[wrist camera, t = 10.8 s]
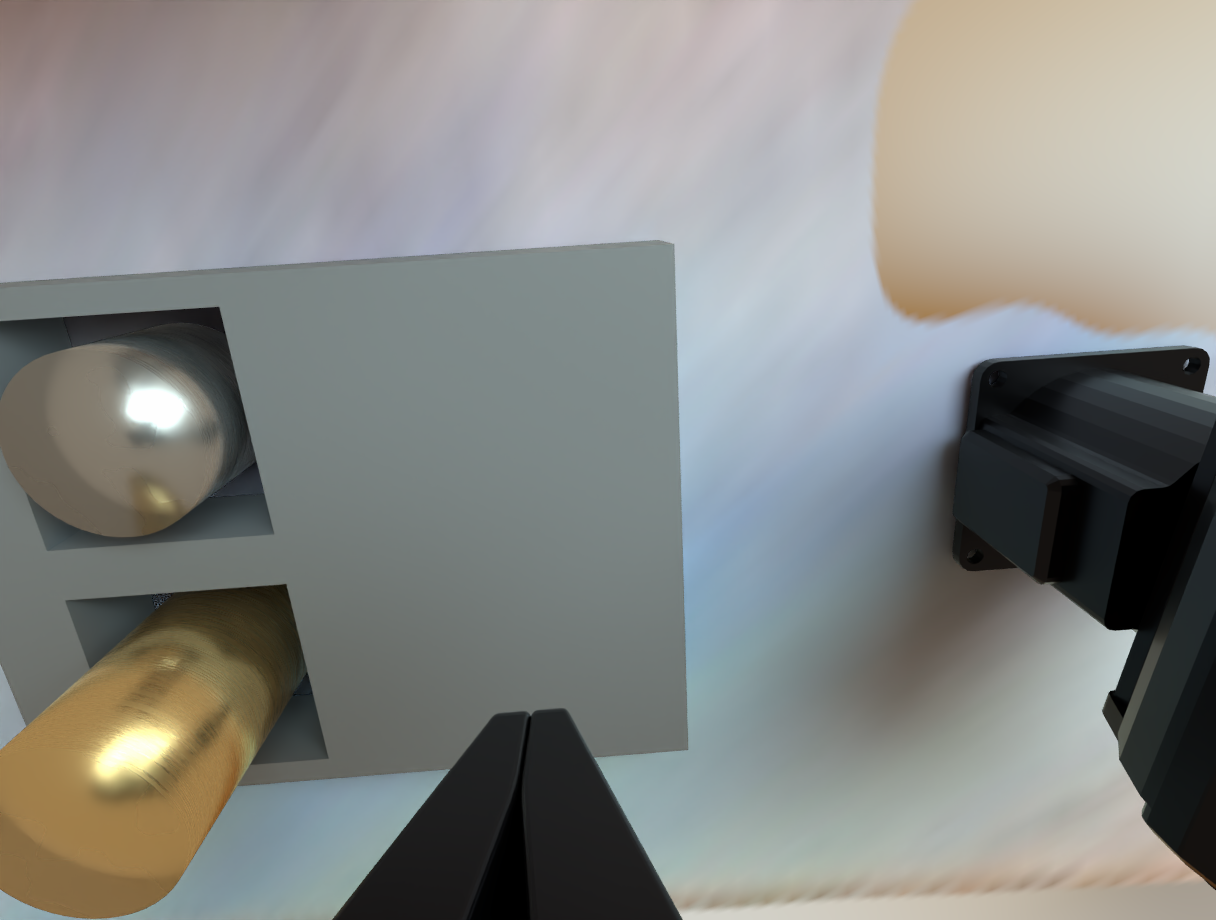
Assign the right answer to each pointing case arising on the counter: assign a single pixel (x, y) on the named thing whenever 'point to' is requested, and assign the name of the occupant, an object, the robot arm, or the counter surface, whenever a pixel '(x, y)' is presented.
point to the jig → (403, 500)
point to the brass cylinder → (145, 752)
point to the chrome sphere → (127, 428)
